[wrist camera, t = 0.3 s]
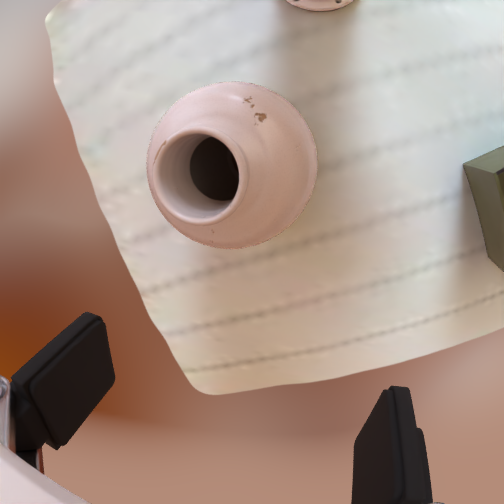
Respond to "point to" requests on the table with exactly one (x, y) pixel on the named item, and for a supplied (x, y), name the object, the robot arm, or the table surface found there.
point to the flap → (500, 171)
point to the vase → (231, 165)
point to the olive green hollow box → (489, 200)
